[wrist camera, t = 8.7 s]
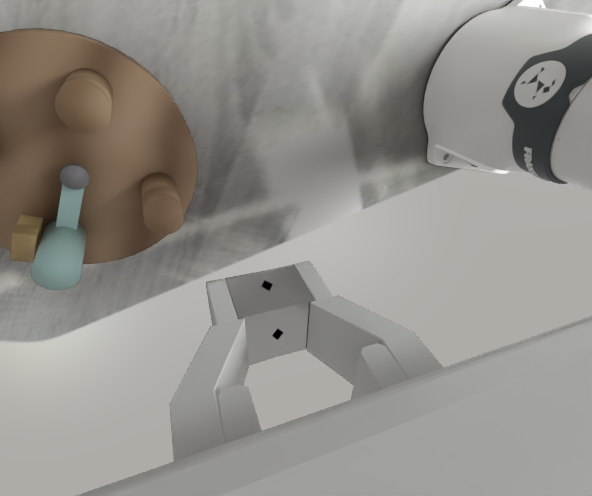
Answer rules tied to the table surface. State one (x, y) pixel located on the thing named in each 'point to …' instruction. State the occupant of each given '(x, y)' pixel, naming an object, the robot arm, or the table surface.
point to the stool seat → (88, 145)
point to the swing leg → (63, 235)
